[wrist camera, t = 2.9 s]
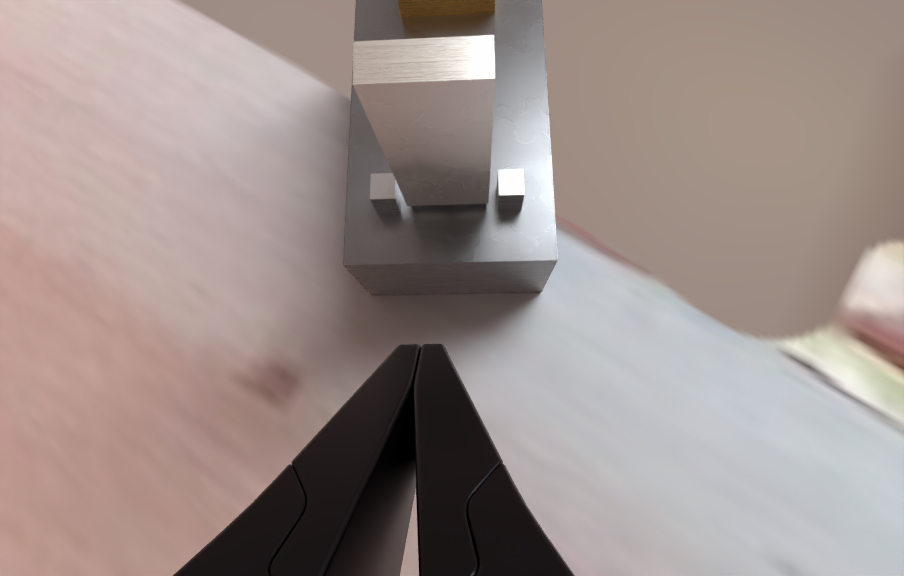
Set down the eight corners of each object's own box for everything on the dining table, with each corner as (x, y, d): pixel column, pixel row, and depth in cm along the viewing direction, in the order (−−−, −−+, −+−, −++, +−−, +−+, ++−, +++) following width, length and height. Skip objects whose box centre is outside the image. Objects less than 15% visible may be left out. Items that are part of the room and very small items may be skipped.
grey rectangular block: (541, 291, 23) (566, 241, 16) (371, 295, 24) (327, 248, 17) (529, 52, 26) (546, -72, 20) (379, 59, 27) (344, -61, 20)
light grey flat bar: (487, 181, 19) (488, 207, 19) (409, 184, 19) (409, 209, 19) (493, 35, 11) (495, 78, 10) (353, 41, 11) (352, 84, 11)
